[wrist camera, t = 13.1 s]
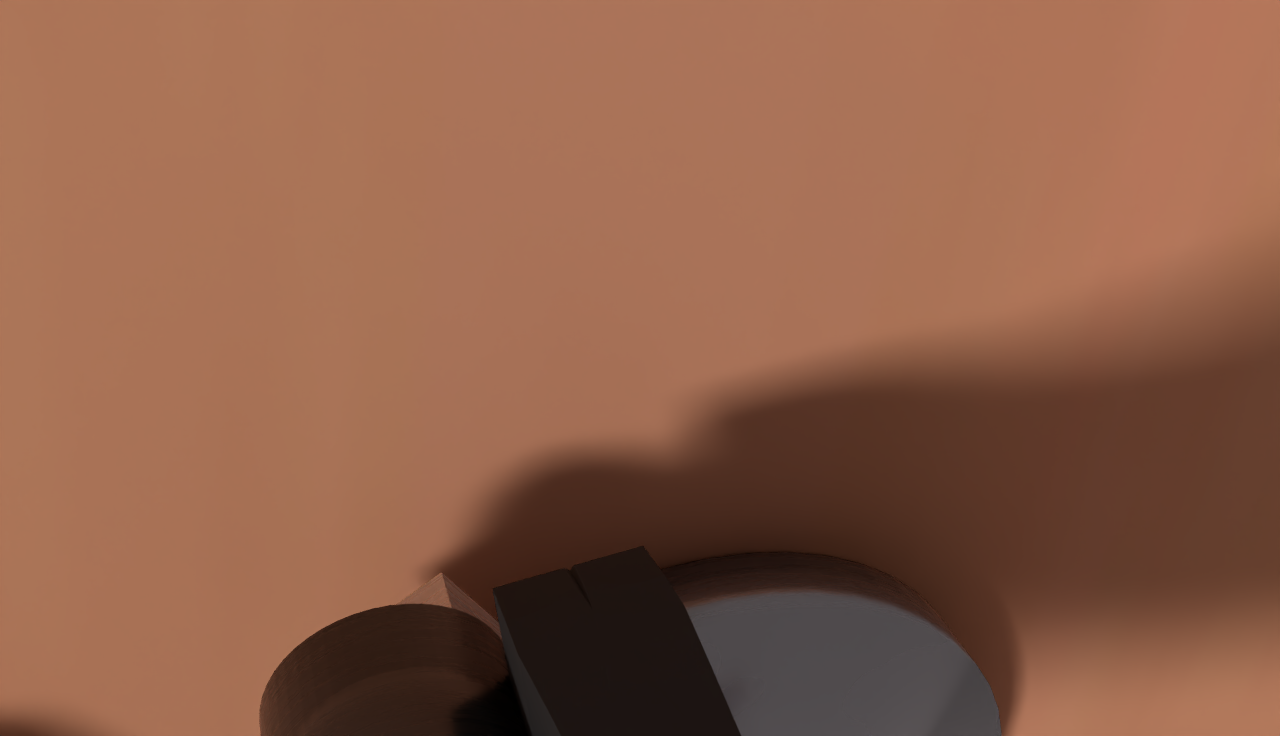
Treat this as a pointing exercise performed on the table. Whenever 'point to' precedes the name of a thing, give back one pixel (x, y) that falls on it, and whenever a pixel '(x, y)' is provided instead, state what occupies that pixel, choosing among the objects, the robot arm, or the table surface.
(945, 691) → the crank base
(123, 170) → the table surface
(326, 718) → the crank
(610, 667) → the robot arm
